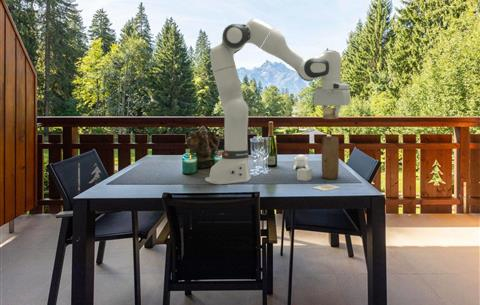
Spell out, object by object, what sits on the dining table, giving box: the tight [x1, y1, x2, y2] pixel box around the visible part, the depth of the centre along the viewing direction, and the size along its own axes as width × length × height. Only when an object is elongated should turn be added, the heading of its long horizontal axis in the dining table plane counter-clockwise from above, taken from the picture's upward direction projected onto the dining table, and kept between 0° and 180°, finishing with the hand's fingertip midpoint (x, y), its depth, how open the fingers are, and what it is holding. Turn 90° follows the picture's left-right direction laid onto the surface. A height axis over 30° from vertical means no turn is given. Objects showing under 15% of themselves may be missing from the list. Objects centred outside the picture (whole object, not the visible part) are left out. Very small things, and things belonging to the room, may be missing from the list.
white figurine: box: [292, 154, 310, 170], centre depth 207 cm, size 9×8×15 cm
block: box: [321, 135, 340, 180], centre depth 183 cm, size 11×8×20 cm
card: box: [312, 183, 342, 192], centre depth 162 cm, size 10×7×1 cm
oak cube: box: [322, 107, 339, 120], centre depth 180 cm, size 5×5×5 cm
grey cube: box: [296, 167, 313, 182], centre depth 180 cm, size 5×5×5 cm
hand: (330, 115), depth 180 cm, fingers closed on oak cube, 5 cm apart
